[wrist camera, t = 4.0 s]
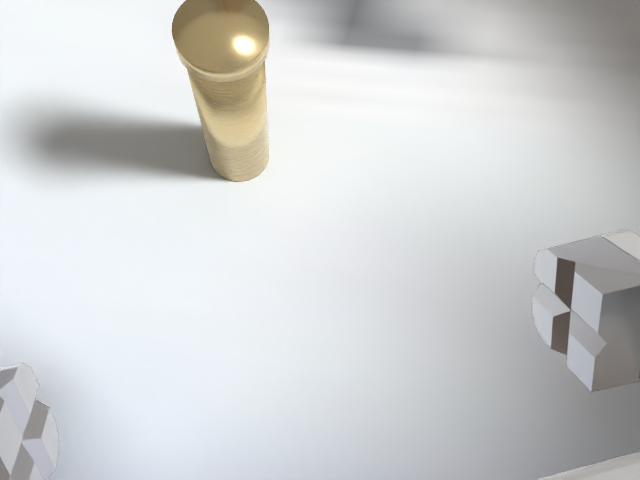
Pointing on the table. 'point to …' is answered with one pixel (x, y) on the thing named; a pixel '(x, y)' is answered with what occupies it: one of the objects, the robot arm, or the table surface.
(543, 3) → the table surface
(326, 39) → the table surface
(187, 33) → the hinge pin
